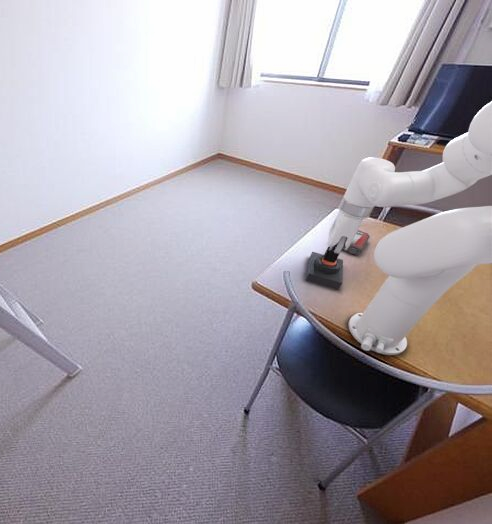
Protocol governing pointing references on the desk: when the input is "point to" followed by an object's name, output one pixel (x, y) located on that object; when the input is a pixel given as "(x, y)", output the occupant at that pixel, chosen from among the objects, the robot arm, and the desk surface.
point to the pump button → (328, 262)
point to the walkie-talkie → (358, 243)
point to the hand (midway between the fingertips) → (328, 259)
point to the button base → (324, 272)
